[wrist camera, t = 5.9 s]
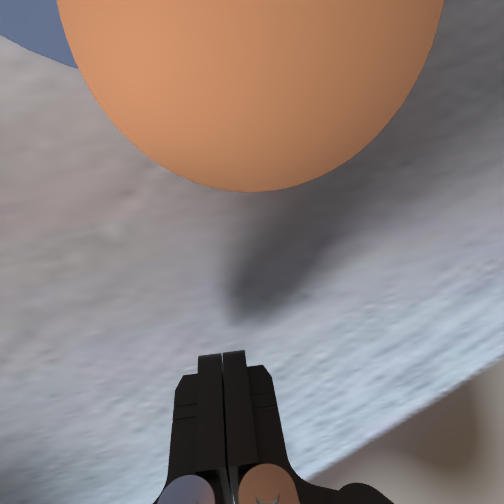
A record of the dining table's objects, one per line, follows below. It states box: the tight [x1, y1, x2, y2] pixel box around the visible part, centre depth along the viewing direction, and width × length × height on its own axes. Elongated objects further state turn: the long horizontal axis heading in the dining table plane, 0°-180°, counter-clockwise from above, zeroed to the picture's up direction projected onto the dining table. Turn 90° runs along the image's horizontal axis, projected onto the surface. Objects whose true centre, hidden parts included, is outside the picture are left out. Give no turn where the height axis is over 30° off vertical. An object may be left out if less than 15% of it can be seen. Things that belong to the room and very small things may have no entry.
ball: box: [56, 0, 444, 192], centre depth 6 cm, size 6×6×6 cm
